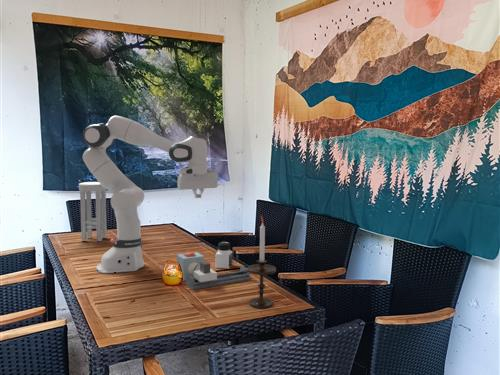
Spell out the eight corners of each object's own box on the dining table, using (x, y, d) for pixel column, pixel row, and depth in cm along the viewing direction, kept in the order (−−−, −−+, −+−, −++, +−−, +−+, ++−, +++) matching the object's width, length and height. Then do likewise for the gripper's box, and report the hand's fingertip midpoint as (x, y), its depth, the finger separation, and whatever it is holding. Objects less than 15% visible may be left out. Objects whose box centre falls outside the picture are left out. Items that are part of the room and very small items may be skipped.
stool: (102, 243, 262) (101, 184, 258) (76, 242, 262) (74, 184, 258) (111, 237, 277) (109, 182, 273) (86, 236, 277) (85, 181, 273)
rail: (192, 289, 185) (192, 279, 184) (185, 284, 192) (185, 274, 191) (250, 279, 199) (250, 270, 198) (241, 274, 206) (241, 265, 205)
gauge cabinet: (184, 281, 195) (184, 259, 194) (176, 275, 203) (176, 254, 202) (204, 277, 201) (204, 256, 199) (196, 272, 208) (196, 251, 207)
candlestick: (254, 311, 163) (255, 218, 159) (242, 301, 173) (243, 213, 169) (280, 307, 167) (282, 216, 163) (267, 297, 177) (269, 211, 173)
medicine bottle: (229, 269, 215) (229, 244, 213) (215, 267, 216) (215, 244, 215) (232, 264, 222) (232, 241, 220) (219, 263, 223) (219, 240, 222)
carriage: (200, 282, 187) (200, 266, 186) (193, 277, 193) (193, 262, 192) (217, 279, 191) (217, 263, 190) (210, 275, 197) (210, 259, 196)
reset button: (187, 264, 199) (187, 254, 198) (184, 262, 202) (184, 252, 202) (196, 263, 201) (196, 253, 200) (192, 261, 204) (192, 251, 204)
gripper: (214, 168, 222) (214, 195, 223) (176, 169, 211) (176, 198, 213) (220, 169, 216) (219, 197, 218) (180, 170, 206) (181, 199, 208)
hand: (198, 197), depth 215 cm, fingers closed
